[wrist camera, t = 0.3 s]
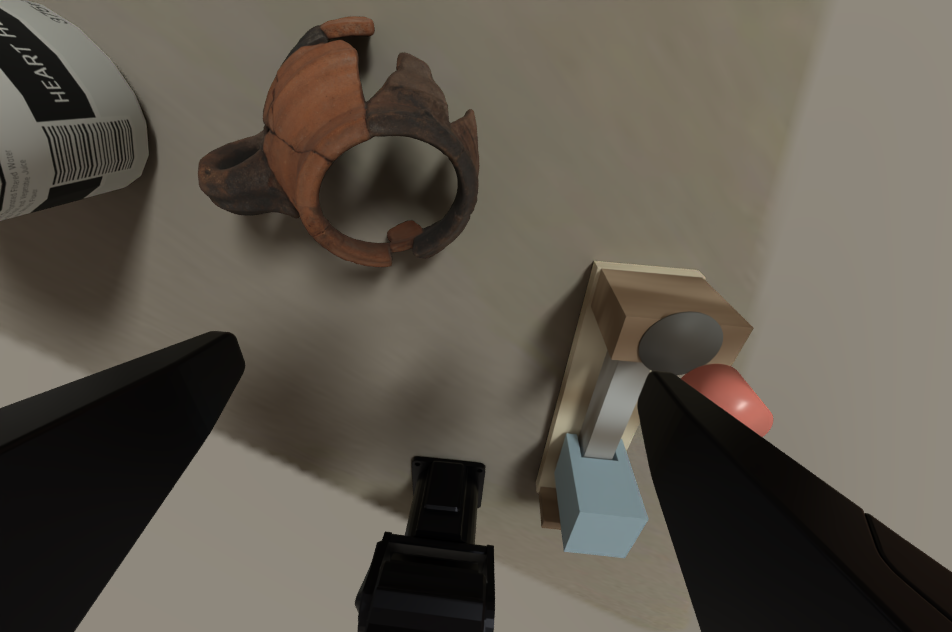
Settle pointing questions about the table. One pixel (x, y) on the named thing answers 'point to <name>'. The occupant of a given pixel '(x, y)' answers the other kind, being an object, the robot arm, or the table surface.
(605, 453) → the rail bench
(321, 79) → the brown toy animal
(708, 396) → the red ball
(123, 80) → the supplement can
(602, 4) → the table surface
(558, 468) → the light blue block
